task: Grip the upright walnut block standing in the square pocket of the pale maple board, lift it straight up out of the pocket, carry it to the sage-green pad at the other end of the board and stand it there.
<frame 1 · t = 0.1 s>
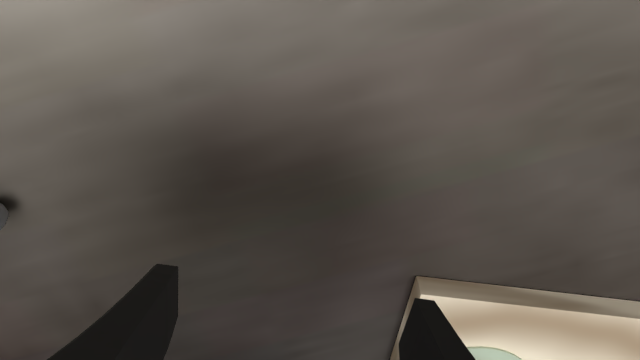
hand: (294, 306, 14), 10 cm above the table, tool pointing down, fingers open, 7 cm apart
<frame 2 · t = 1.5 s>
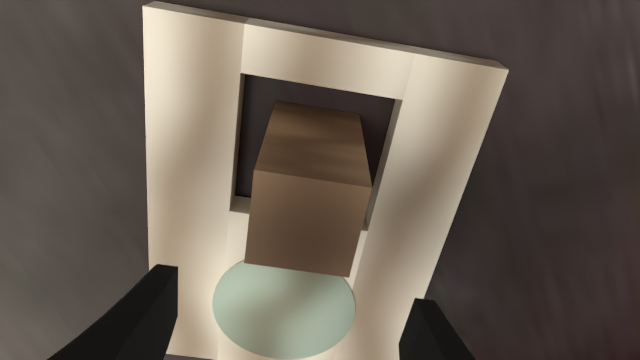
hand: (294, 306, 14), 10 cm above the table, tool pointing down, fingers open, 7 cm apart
block: (311, 145, 22), resting in board
board: (298, 220, 24), on the table
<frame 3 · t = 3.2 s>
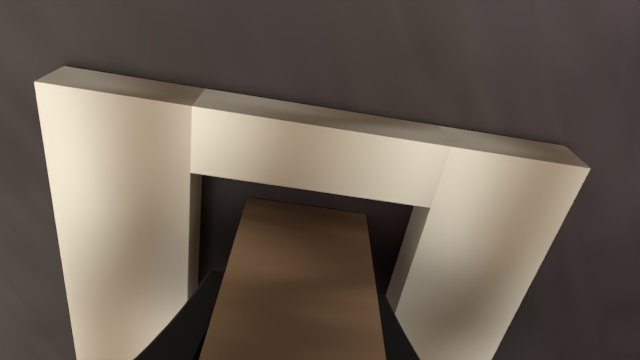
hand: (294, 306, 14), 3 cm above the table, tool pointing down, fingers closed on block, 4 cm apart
block: (298, 252, 16), resting in board, touching gripper
board: (283, 340, 18), on the table
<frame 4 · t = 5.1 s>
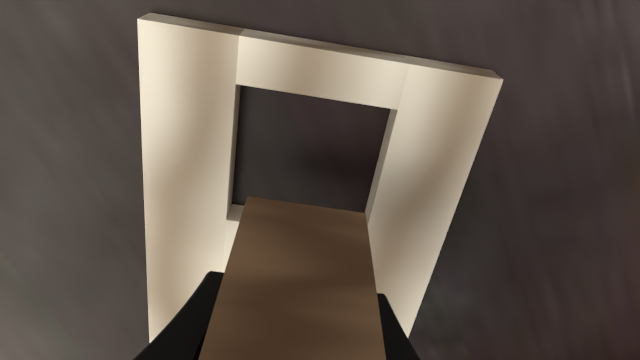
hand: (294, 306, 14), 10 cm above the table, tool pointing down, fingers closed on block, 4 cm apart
block: (298, 251, 16), point 7 cm above the table, touching gripper
board: (295, 228, 24), on the table
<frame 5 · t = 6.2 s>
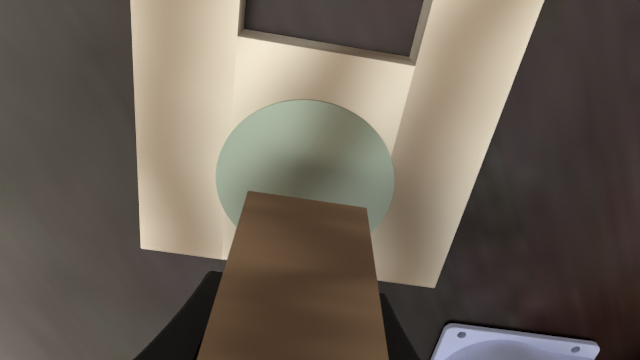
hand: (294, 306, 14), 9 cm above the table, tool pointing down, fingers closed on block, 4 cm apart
block: (299, 246, 16), point 6 cm above the table, touching gripper
board: (323, 66, 19), on the table
when the fingers open (5 cm above the table, at t = 7.2 s): block stays where it is, resting on board.
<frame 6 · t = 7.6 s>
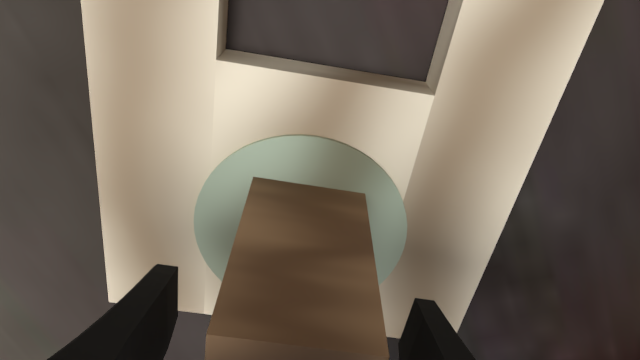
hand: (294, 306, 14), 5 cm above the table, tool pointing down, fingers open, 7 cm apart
block: (301, 230, 17), point 2 cm above the table, touching board
board: (322, 93, 16), on the table
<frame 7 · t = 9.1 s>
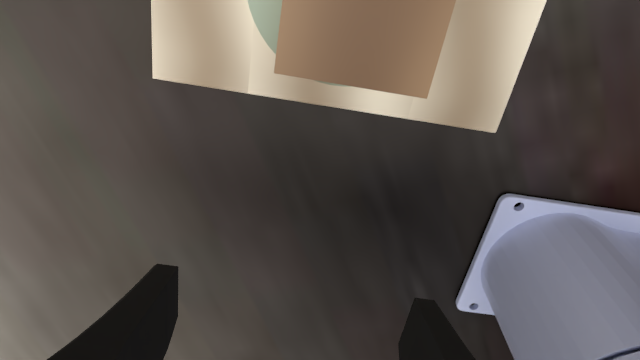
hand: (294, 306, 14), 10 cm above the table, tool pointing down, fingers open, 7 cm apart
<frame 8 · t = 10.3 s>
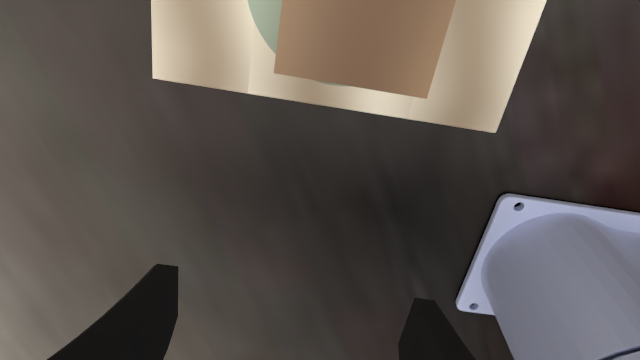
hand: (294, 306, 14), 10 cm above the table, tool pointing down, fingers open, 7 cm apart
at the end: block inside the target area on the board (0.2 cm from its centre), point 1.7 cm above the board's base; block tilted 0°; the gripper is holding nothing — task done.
